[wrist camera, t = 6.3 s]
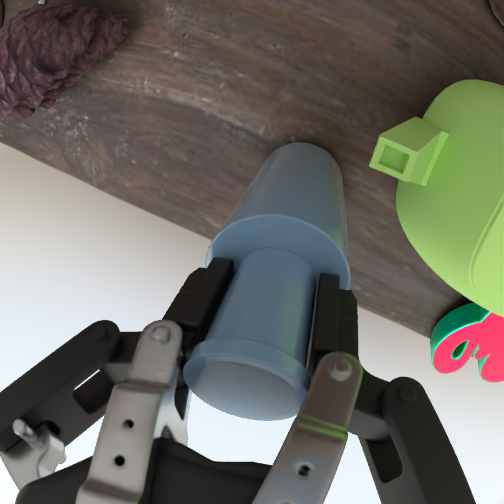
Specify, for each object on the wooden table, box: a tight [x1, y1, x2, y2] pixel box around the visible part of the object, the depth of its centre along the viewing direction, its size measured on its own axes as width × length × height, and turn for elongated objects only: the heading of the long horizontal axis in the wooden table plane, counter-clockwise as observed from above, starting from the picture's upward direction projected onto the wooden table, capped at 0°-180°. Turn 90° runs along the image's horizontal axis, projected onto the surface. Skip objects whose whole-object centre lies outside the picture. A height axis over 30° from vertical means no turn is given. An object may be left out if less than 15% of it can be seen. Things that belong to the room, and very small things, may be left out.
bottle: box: [183, 142, 351, 421], centre depth 14 cm, size 6×6×16 cm
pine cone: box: [0, 3, 130, 118], centre depth 15 cm, size 18×10×10 cm
